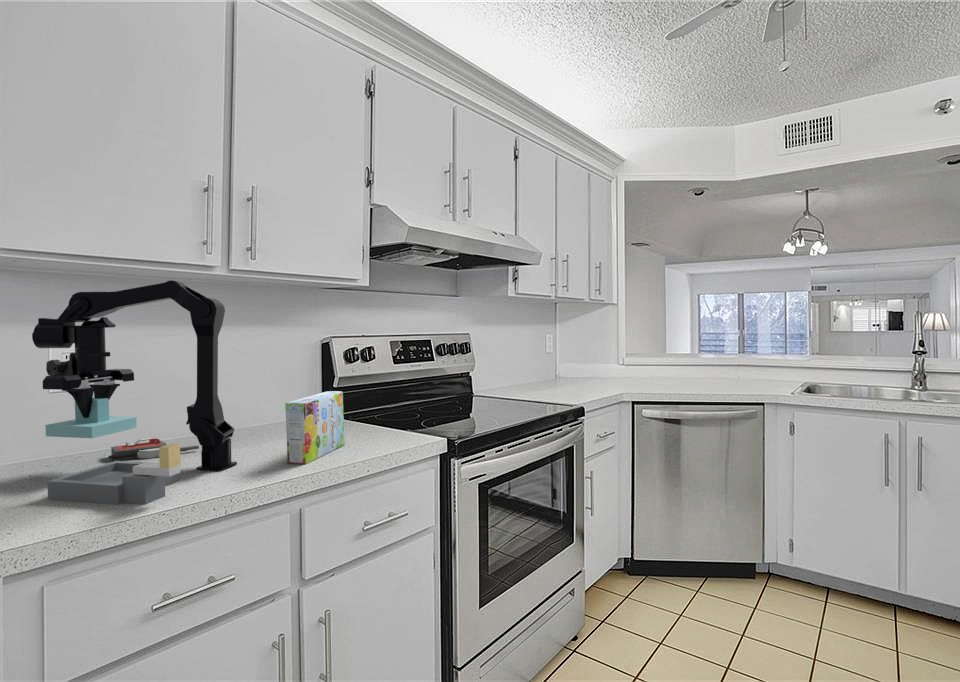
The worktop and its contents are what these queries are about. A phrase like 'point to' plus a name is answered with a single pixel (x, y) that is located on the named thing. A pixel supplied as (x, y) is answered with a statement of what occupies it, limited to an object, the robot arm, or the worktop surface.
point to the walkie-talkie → (140, 449)
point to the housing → (110, 485)
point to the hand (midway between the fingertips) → (92, 416)
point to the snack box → (314, 426)
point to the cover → (91, 422)
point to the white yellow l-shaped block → (162, 463)
